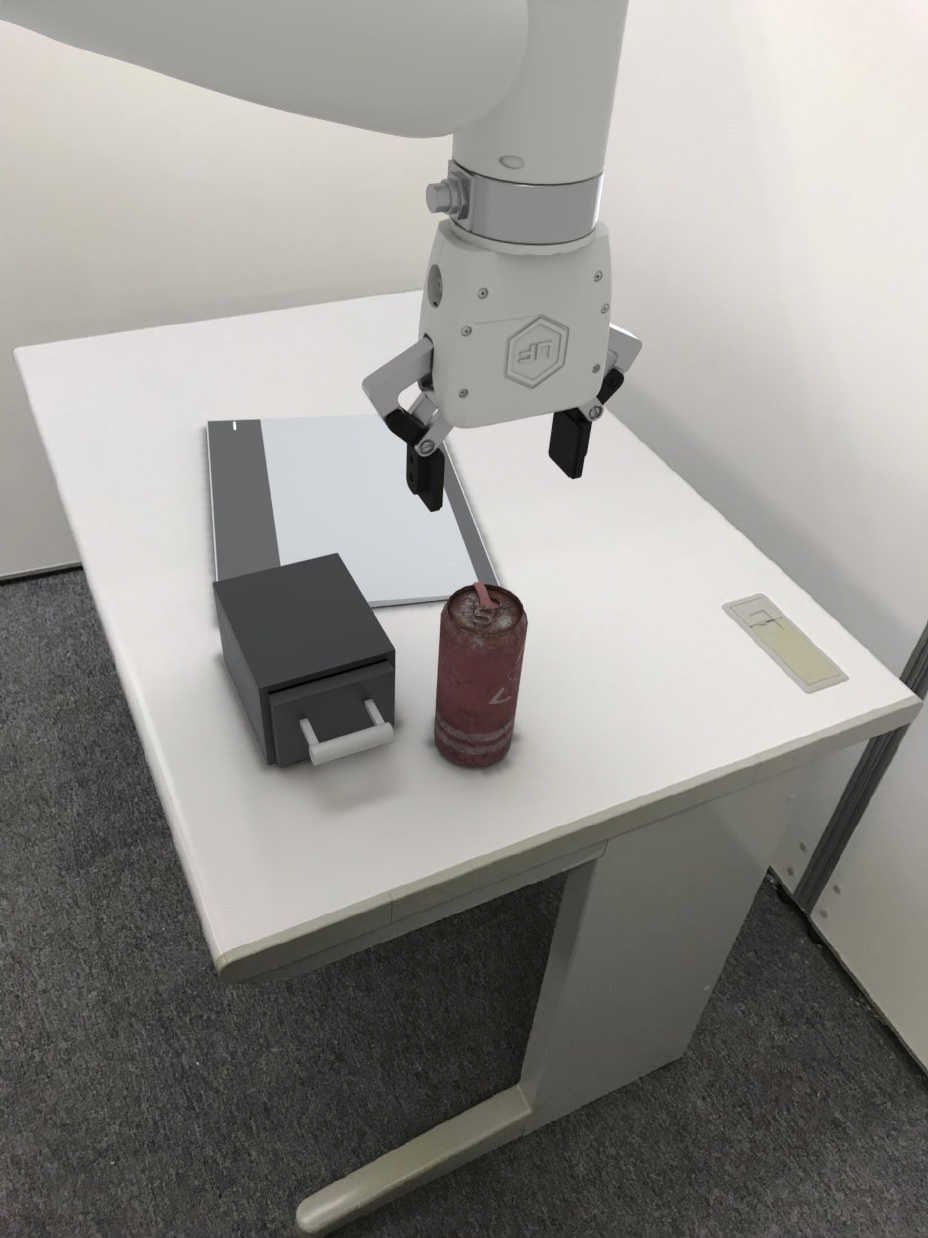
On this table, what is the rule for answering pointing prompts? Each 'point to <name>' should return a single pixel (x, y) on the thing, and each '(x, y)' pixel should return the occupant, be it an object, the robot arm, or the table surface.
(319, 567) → the dark grey cabinet
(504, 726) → the can
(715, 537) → the table surface
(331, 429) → the white grey flat panel
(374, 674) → the drawer
